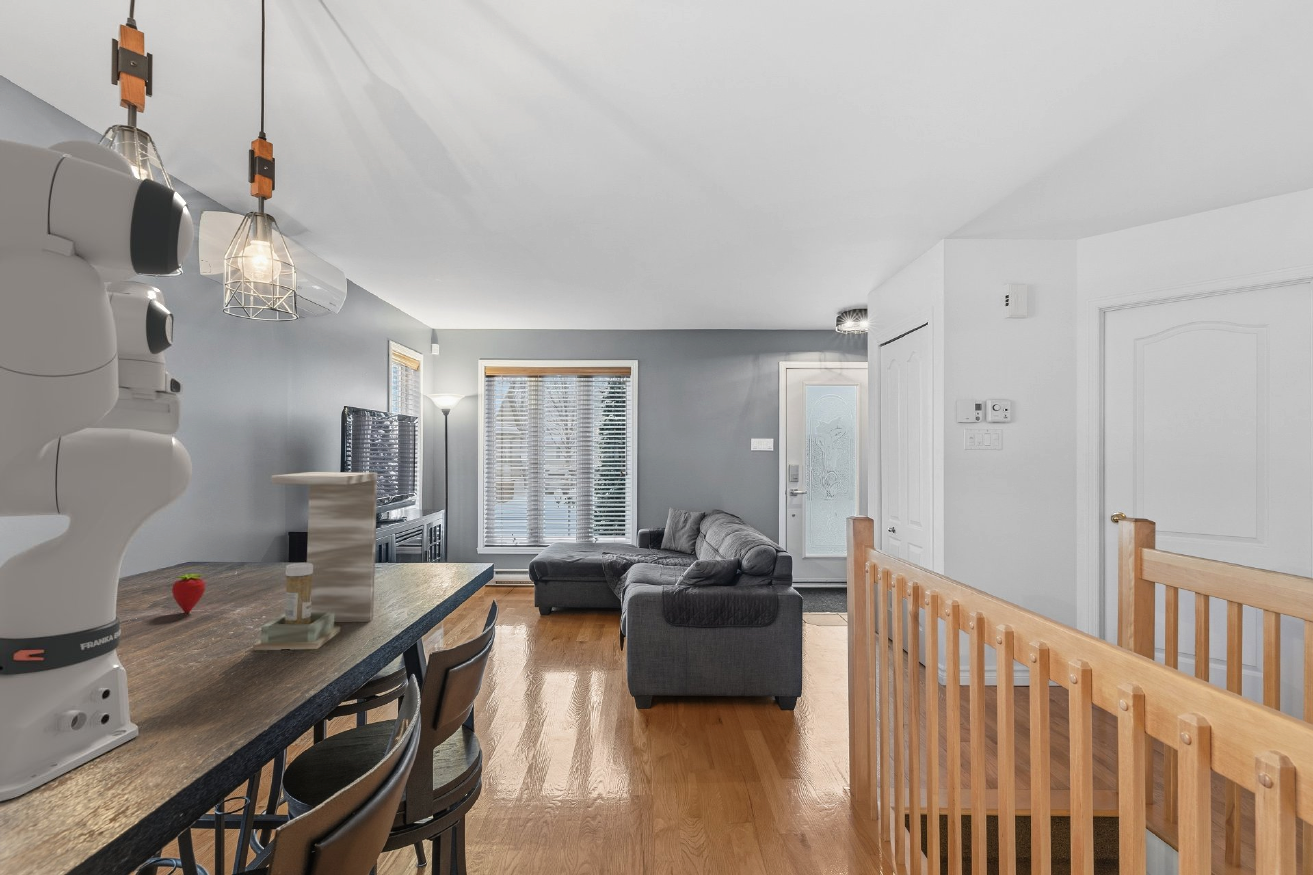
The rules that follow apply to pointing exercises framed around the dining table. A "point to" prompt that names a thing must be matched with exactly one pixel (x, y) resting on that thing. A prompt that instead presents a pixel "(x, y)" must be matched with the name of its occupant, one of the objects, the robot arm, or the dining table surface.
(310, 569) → the sprinkles bottle
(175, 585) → the strawberry
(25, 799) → the dining table surface
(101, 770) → the dining table surface
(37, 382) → the robot arm
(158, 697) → the dining table surface
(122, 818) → the dining table surface
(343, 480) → the awning socket
